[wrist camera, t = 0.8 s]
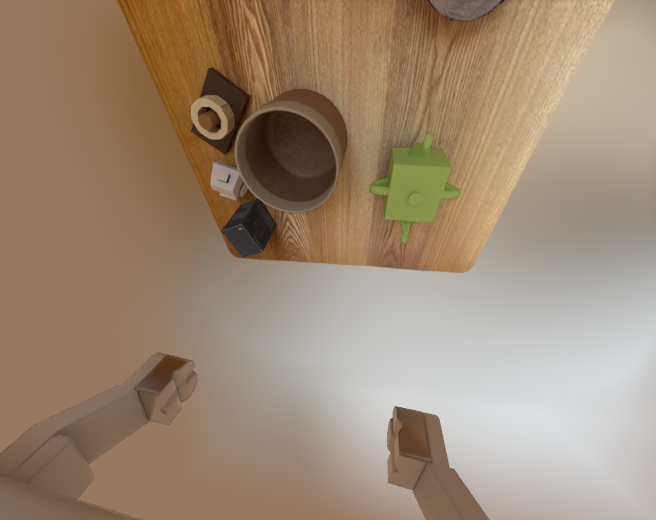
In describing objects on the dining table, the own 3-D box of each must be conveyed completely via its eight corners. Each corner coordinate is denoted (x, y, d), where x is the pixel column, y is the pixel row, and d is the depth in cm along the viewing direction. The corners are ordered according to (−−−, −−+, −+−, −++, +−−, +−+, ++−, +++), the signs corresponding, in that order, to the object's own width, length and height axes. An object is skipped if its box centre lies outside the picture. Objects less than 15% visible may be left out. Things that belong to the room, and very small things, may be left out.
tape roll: (204, 85, 44) (195, 89, 42) (240, 111, 46) (233, 116, 44) (195, 119, 48) (186, 123, 46) (228, 142, 50) (221, 147, 48)
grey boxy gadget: (254, 176, 57) (243, 162, 48) (246, 205, 58) (232, 197, 48) (228, 167, 57) (211, 151, 47) (220, 196, 57) (201, 187, 47)
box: (240, 204, 61) (220, 231, 53) (259, 197, 59) (241, 223, 51) (258, 230, 65) (242, 258, 58) (277, 225, 63) (263, 252, 56)
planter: (355, 97, 43) (348, 119, 33) (340, 184, 54) (330, 221, 44) (262, 79, 43) (227, 96, 33) (265, 170, 54) (239, 203, 44)
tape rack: (212, 67, 43) (193, 72, 39) (250, 96, 45) (236, 103, 41) (195, 129, 51) (177, 139, 46) (228, 151, 53) (214, 163, 48)
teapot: (400, 217, 57) (404, 248, 49) (357, 176, 52) (354, 203, 44) (467, 169, 48) (484, 197, 40) (422, 114, 43) (432, 134, 36)
